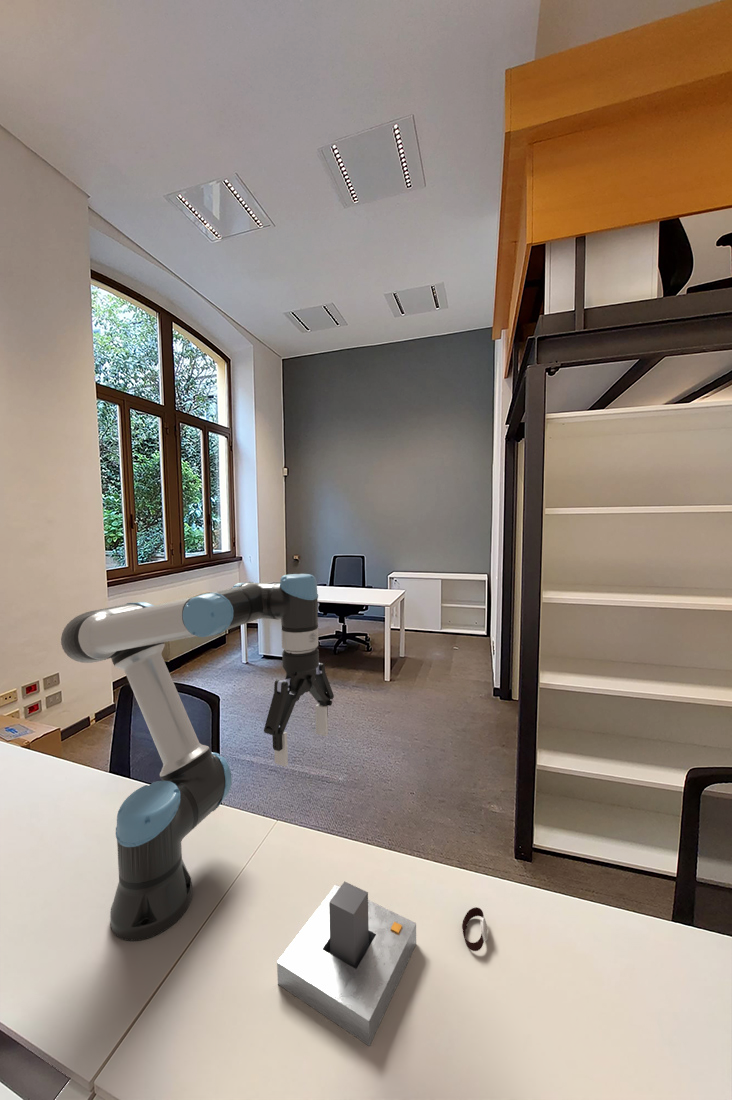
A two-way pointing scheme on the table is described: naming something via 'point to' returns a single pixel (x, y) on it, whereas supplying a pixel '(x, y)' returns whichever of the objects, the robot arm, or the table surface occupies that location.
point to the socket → (348, 969)
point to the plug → (349, 924)
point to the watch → (484, 932)
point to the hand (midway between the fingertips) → (302, 748)
